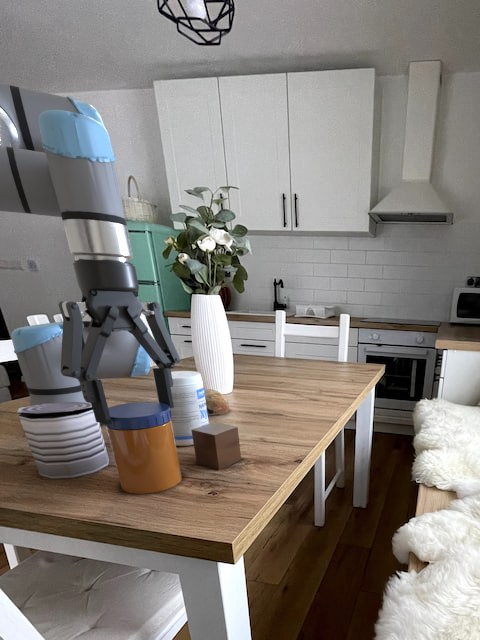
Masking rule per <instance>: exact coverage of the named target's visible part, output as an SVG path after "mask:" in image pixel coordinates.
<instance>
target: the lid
mask: <svg viewBox="0 0 480 640" xmlns="http://www.w3.org/2000/svg"><path fill="white" fill-rule="evenodd" d="M108 410H109V414H110V418H111V422H112V423H111V424H104V426H105V428H106V427H109V428H112V429H122V430H129V429H142V428H149V427H154V426H158V425H161V424H164V423H166V422H168V421H169V420H171V416H172V415H171V410H170V407H169V405H167V404H164V403H159V402H158V401H157V402H156V401H136V402H135V401H134V402H126V403H121V404H116V405H112V406H108Z"/></svg>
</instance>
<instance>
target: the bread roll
mask: <svg viewBox="0 0 480 640" xmlns="http://www.w3.org/2000/svg"><path fill="white" fill-rule="evenodd" d="M204 394H205V400H206V407H207V414H208V417H209V416H222V415H225V414H227V413H228V412H229V411H230V405H229V399H228V398H227V396H226V395H224V394H222V392H220V391H218V390H216V389H208V388H207V389H204Z"/></svg>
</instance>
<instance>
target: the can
mask: <svg viewBox="0 0 480 640" xmlns="http://www.w3.org/2000/svg"><path fill="white" fill-rule="evenodd" d="M15 413H19V415H18V418H19V421H20V423H21V427H22V430H23V432H24V435H25V437H26V440H27V444H28V446H29V449H30V452H31V454H32V457H33V460H34V463H35V466H36V469H37V472H38V474H39V476H42V477H44V478H48V479H50V480H54V479H55V480H56V479H57V480H58V479H73V478H78V477H82V476H86V475H90V474H95V473H96V472H99V471H100V470H102V469H104V468H106V467H107V466H109V461H110V458H109V454H108V450H107V446H106V442H105V439H104V436H103V432H102V428H101V425H100V424H99V422H96V419H95V416H94V412H93V408H92V405H91V403H85V402H65V403H50V404H40V405H34V406H30V405H29V406H23V407H19V408H18V409H17V410H16V411H15Z"/></svg>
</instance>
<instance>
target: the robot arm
mask: <svg viewBox="0 0 480 640" xmlns="http://www.w3.org/2000/svg"><path fill="white" fill-rule="evenodd" d="M0 212H5V213H7V212H8V213H18V214H19V213H20V214H29V215H37V216H44V217H45V216H46V217H57V218H61V221H62V224H63V228H64V233H65V235H66V236H65V237H66V241H67V246H68V249H69V253H70V255H72V256H73V257H74V261H73V262H72V265H73V270H74V273H75V274H74V275H75V278H76V281H77V285H78V289H79V290H80V292H81V299H80V301H69V300H68V301H67V300H61V301H59V303H58V308H59V311H60V315H61V317H62V321H54V322H47V323H39V324H33V325H26V326H21V327H18V328H15V329H13V330H12V332H11V335H10V337H11V341H12V345H13V349H14V350H13V353H14V354H15V355H16V358H17V361H18V364H19V367H20V370H21V374H22V377H23V379H24V382H25V385H26V388H27V391H28V394H29V406H34V405H40V404H50V403H65V402H85V403H91V405H92V408H93V412H94V416H95V419H96V422H99V424H100V426H102V425H103V424H104V425H105V424H111V423H112V422H111V418H110V414H109V410H108V408H109V406H108V403H107V398H106V393H105V390H104V386H103V382H102V380H104V379H105V380H106V379H119V378H120V379H121V378H129V379H131V378H134V377H143V376H146V375H148V374H149V372H150V370H151V360H152V362H153V363H154V364H155V366H156V367H154V368H152V372H153V379H154V378H155V381H154V382H155V383H156V388H157V394H158V399H159V403H164V404H167V405H169V407H170V408H174V404H173V398H172V393H171V387H173V380H172V374H171V372H172V370H173V369H175V367H176V364H179V363H180V361H181V359H180V356H179V353H178V351H177V349H176V346H175V344H174V342H173V340H172V337H171V335H170V333H169V331H168V328H167V326H166V323H165V321H164V319H163V317H162V309H161V304H160V303H159V302H158V301H143V302H142V299H140V296H139V290H140V285H139V280H138V275H137V270H136V266H135V265H134V264H133V263H131V262H130V260H133V259H134V253H133V247H132V243H131V238H130V234H129V229H128V225H127V220H126V217H125V210H124V205H123V200H122V194H121V187H120V183H119V177H118V173H117V165H116V155H115V153H114V150H113V147H112V143H111V138H110V135H109V132H108V130H107V129H106V127H105V124H104V121H103V119H102V117H101V115H100V113H99V111H98V110H97V109H96V108H95V107H94V106H93V105H91V103H88V102H85V101H81V100H78V99H75V98H72V97H71V96H68V95H67V96H62V95H58V94H54V93H53V94H52V93H48V92H44V91H39V90H36V89H35V90H34V89H30V88H26V87H21V86H15V85H11V84H9V83H5V82H0ZM85 313H86V314H85ZM142 315H143V316H144V318H145V320H146V323H147V324H148V327H149V328H148V327H147V324H146V323H145V322H144V321H143V319H142V318H141V316H142ZM149 330H150V331H151V333H152V335H151V333H150V332H149ZM157 394H156V395H157ZM158 399H157V400H158Z"/></svg>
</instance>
